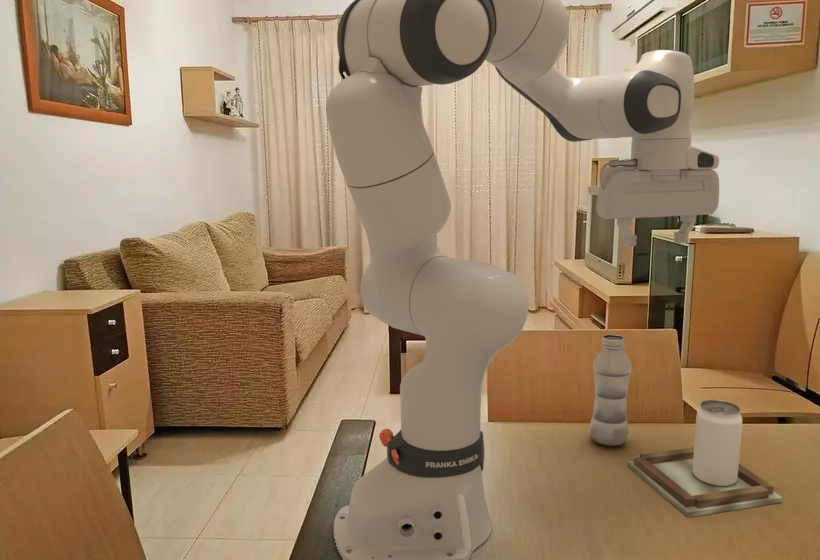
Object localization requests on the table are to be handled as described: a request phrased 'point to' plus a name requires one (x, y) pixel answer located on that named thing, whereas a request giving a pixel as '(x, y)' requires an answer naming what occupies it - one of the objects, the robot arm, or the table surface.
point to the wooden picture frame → (700, 484)
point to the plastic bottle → (610, 392)
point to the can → (717, 443)
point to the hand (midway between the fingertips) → (655, 244)
